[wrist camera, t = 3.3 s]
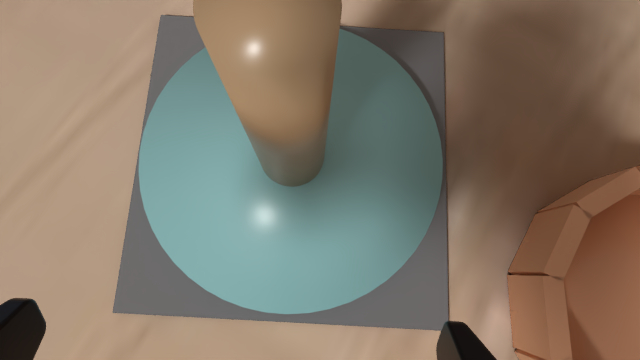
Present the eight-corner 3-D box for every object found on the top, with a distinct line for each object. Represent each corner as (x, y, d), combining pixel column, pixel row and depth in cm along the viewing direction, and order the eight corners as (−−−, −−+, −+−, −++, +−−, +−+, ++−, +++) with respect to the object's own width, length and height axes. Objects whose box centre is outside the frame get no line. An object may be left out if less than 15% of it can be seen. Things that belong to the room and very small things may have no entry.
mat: (446, 330, 22) (448, 330, 21) (115, 312, 22) (112, 312, 21) (442, 35, 26) (443, 32, 25) (162, 17, 26) (160, 14, 25)
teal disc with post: (225, 373, 21) (59, 574, 7) (100, 104, 24) (-183, -118, 10) (493, 217, 23) (764, 138, 9) (346, -11, 26) (386, -322, 12)
